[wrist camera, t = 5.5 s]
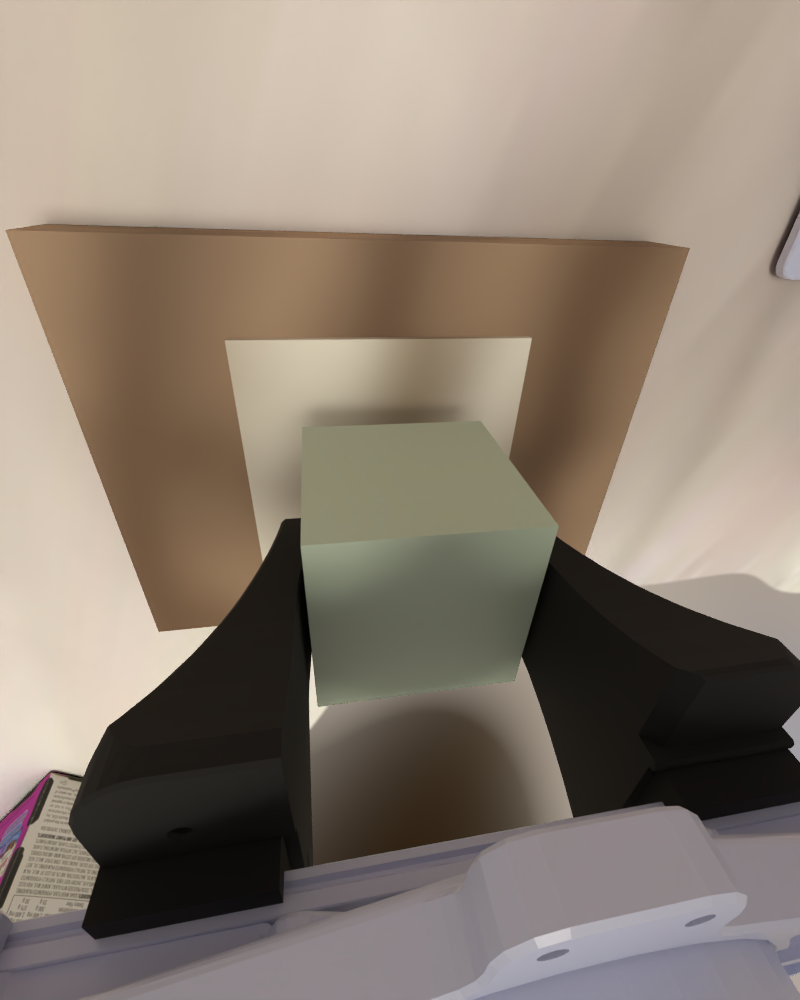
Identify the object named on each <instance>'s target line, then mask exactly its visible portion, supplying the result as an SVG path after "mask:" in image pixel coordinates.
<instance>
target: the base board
mask: <svg viewBox="0 0 800 1000" xmlns="http://www.w3.org/2000/svg"><path fill="white" fill-rule="evenodd" d="M6 233H7V235H8V238H9V240H10V243H11V246H12V248H13V251H14V254H15V256H16V259H17V261H18V264H19V267H20V269H21V272H22V275H23V277H24V280H25V282H26V285H27V288H28V290H29V293H30V295H31V298H32V301H33V303H34V306H35V309H36V311H37V314H38V316H39V319H40V322H41V324H42V327H43V330H44V332H45V335H46V337H47V340H48V343H49V345H50V348H51V350H52V353H53V356H54V358H55V361H56V364H57V366H58V369H59V371H60V374H61V377H62V379H63V382H64V385H65V387H66V390H67V392H68V395H69V398H70V400H71V403H72V406H73V408H74V411H75V413H76V416H77V419H78V421H79V424H80V426H81V429H82V432H83V434H84V437H85V440H86V442H87V445H88V447H89V450H90V453H91V455H92V458H93V461H94V463H95V466H96V468H97V471H98V474H99V476H100V479H101V482H102V484H103V487H104V489H105V492H106V495H107V497H108V500H109V502H110V505H111V508H112V510H113V513H114V516H115V518H116V521H117V523H118V526H119V529H120V531H121V534H122V537H123V539H124V542H125V544H126V547H127V550H128V552H129V555H130V557H131V560H132V563H133V565H134V568H135V571H136V573H137V576H138V578H139V581H140V584H141V586H142V589H143V592H144V594H145V597H146V599H147V602H148V605H149V607H150V610H151V613H152V615H153V618H154V620H155V623H156V626H157V628H158V631H159V632H161V631H171V630H181V629H191V628H201V627H211V626H218V625H219V624H220V623H221V622H222V621H223V619H224V618H225V617H226V616H227V614H228V613H229V612H230V611H231V609H232V608H233V607H234V605H235V604H236V603H237V601H238V600H239V599H240V597H241V596H242V594H243V593H244V591H245V590H246V588H247V587H248V585H249V584H250V582H251V581H252V579H253V578H254V576H255V574H256V573H257V571H258V570H259V568H260V566H261V564H262V562H263V561H264V559H265V557H266V555H267V554H268V552H269V550H270V548H271V546H272V544H273V542H274V540H275V537H276V535H277V533H278V530H279V528H280V525H281V523H282V522H283V521H284V520H285V519H292V518H301V480H302V427H328V426H355V425H381V424H408V423H435V422H462V421H481V422H482V423H483V425H484V426H485V427H486V429H487V430H488V431H489V433H490V434H491V435H492V437H493V438H494V439H495V441H496V442H497V443H498V445H499V446H500V447H501V449H502V450H503V451H504V453H505V454H506V456H507V457H508V458H509V460H510V461H511V462H512V464H513V465H514V466H515V468H516V469H517V470H518V472H519V473H520V474H521V476H522V477H523V478H524V480H525V481H526V482H527V484H528V485H529V486H530V488H531V489H532V490H533V492H534V493H535V495H536V496H537V497H538V499H539V500H540V501H541V503H542V504H543V505H544V507H545V508H546V509H547V511H548V512H549V513H550V515H551V516H552V517H553V519H554V520H555V521H556V523H557V524H558V525H559V528H558V531H557V535H556V536H557V537H558V538H560V539H561V540H562V541H564V542H565V543H567V544H568V545H570V546H571V547H572V548H574V549H575V550H577V551H578V552H580V553H581V554H583V555H585V553H586V550H587V547H588V544H589V541H590V539H591V536H592V533H593V530H594V527H595V524H596V521H597V518H598V515H599V512H600V509H601V506H602V503H603V500H604V498H605V495H606V492H607V489H608V486H609V483H610V480H611V477H612V474H613V471H614V468H615V465H616V462H617V460H618V457H619V454H620V451H621V448H622V445H623V442H624V439H625V436H626V433H627V430H628V427H629V424H630V421H631V419H632V416H633V413H634V410H635V407H636V404H637V401H638V398H639V395H640V392H641V389H642V386H643V383H644V381H645V378H646V375H647V372H648V369H649V366H650V363H651V360H652V357H653V354H654V351H655V348H656V345H657V342H658V340H659V337H660V334H661V331H662V328H663V325H664V322H665V319H666V316H667V313H668V310H669V307H670V304H671V302H672V299H673V296H674V293H675V290H676V287H677V284H678V281H679V278H680V275H681V272H682V269H683V266H684V263H685V261H686V258H687V255H688V252H689V249H690V248H685V247H679V246H672V245H666V244H660V243H654V242H645V241H610V240H576V239H541V238H506V237H471V236H436V235H402V234H367V233H332V232H297V231H262V230H228V229H193V228H158V227H123V226H88V225H54V224H44V225H37V226H30V227H23V228H16V229H10V230H6Z"/></svg>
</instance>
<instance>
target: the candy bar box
mask: <svg viewBox="0 0 800 1000" xmlns="http://www.w3.org/2000/svg"><path fill="white" fill-rule="evenodd" d="M82 780H83V778H77V777H73V776H68V775H63V774H58V773H50V774H48V775H47V776H46V777H45V778H44V779H43V780H42V781H41V782H40V783H39V784H38V785H37V786H36V787H35V788H34V789H33V790H32V791H31V792H30V793H29V794H28V795H27V796H26V797H25V798H24V799H23V800H22V801H21V802H20V803H19V804H18V805H17V806H16V807H15V808H14V809H13V810H12V811H11V812H10V813H9V814H8V815H7V816H6V817H5V818H4V819H3V820H2V821H1V822H0V910H2V911H3V912H5V913H6V914H7V916H8V917H9V918H10V920H11V921H12V922H15V921H20V920H25V919H31V918H36V917H41V916H47V915H52V914H58V913H63V912H68V911H74V910H79V909H85V908H87V907H88V904H89V900H90V897H91V894H92V890H93V887H94V884H95V881H96V877H97V874H98V871H99V867H100V866H99V865H98V863H97V862H96V861H95V860H94V859H93V857H92V856H91V855H90V854H89V853H88V852H87V850H86V849H85V848H84V847H83V846H82V844H81V843H80V842H79V841H78V840H77V839H76V837H75V836H74V834H73V832H72V830H71V828H70V826H69V824H68V822H69V817H70V812H71V809H72V807H73V804H74V801H75V799H76V796H77V793H78V791H79V788H80V785H81V783H82Z"/></svg>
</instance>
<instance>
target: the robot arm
mask: <svg viewBox="0 0 800 1000" xmlns="http://www.w3.org/2000/svg"><path fill="white" fill-rule="evenodd" d="M776 274H777V276H778V277H780V278H783V279H788V280H800V212H799V214H798V217H797V219H796V221H795V224H794V226H793V228H792V230H791V233H790V235H789V237H788V239H787V242H786V244H785V246H784V248H783V251H782V253H781V255H780V257H779V260H778V262H777V265H776ZM300 544H301V518H292V519H285V520H284V521H283V522H282V523H281V525H280V528H279V530H278V533H277V535H276V537H275V540H274V542H273V544H272V546H271V548H270V550H269V552H268V554H267V555H266V557H265V559H264V561H263V562H262V564H261V566H260V568H259V570H258V571H257V573H256V574H255V576H254V578H253V579H252V581H251V582H250V584H249V585H248V587H247V588H246V590H245V591H244V593H243V594H242V596H241V597H240V599H239V600H238V601H237V603H236V604H235V605H234V607H233V608H232V609H231V611H230V612H229V613H228V614H227V616H226V617H225V618H224V619H223V621H222V622H221V623H220V624H219V625H218V627H217V628H216V629H215V630H214V631H213V632H212V633H211V634H210V636H209V637H208V638H207V639H206V640H205V641H204V642H203V643H202V645H201V646H200V647H199V648H198V649H197V650H196V651H195V652H194V653H193V654H192V655H191V656H190V657H189V658H188V659H187V660H186V661H185V662H184V663H183V664H182V665H181V666H179V667H178V668H177V669H176V670H175V671H174V672H173V673H172V674H171V675H170V676H169V677H168V678H167V679H166V680H165V681H163V682H162V683H161V684H160V685H159V686H158V687H157V688H156V689H155V690H153V691H152V692H151V693H150V694H149V695H147V696H146V697H145V698H144V699H142V700H141V701H140V702H139V703H137V704H136V705H135V706H134V707H132V708H131V709H130V710H129V711H127V712H126V713H125V714H124V715H122V716H121V717H120V718H119V719H117V720H116V721H115V722H113V723H112V724H111V725H109V726H108V727H107V729H106V731H105V733H104V735H103V737H102V739H101V741H100V743H99V745H98V747H97V749H96V750H95V752H94V754H93V756H92V758H91V760H90V762H89V765H88V767H87V769H86V772H85V775H84V777H83V780H82V783H81V785H80V788H79V791H78V793H77V796H76V799H75V801H74V804H73V807H72V809H71V812H70V817H69V822H68V824H69V826H70V828H71V830H72V832H73V834H74V836H75V837H76V839H77V840H78V841H79V842H80V843H81V844H82V846H83V847H84V848H85V849H86V850H87V852H88V853H89V854H90V855H91V856H92V857H93V859H94V860H95V861H96V862H97V863H98V865H99V866H100V867H99V871H98V874H97V877H96V881H95V884H94V887H93V890H92V894H91V897H90V900H89V904H88V907H87V908H85V909H79V910H74V911H68V912H63V913H58V914H52V915H47V916H41V917H36V918H31V919H25V920H20V921H15V922H12V921H11V920H10V918H9V917H8V916H7V914H6V913H5V912H3V911H2V910H0V1000H800V994H799V992H798V991H797V989H796V987H795V986H794V984H793V982H792V980H791V979H790V976H794V975H797V974H800V762H799V761H798V760H797V759H796V758H795V756H794V755H793V754H792V753H791V752H790V751H789V750H788V748H791V747H793V745H794V741H793V739H792V738H791V737H790V736H789V735H788V733H787V732H786V731H785V730H784V729H783V728H782V726H783V725H784V723H785V722H786V721H787V720H788V719H789V718H790V716H792V715H793V713H794V712H795V711H796V710H797V709H798V708H799V707H800V660H799V659H797V657H796V656H794V655H793V654H792V653H791V652H790V651H789V650H788V649H787V648H786V647H785V646H784V645H783V644H782V643H781V642H780V641H779V640H778V639H775V638H772V637H769V636H766V635H763V634H760V633H756V632H753V631H750V630H747V629H744V628H741V627H737V626H734V625H731V624H728V623H725V622H722V621H719V620H717V619H714V618H711V617H709V616H706V615H703V614H701V613H698V612H695V611H693V610H690V609H687V608H685V607H683V606H680V605H678V604H676V603H673V602H671V601H669V600H667V599H664V598H662V597H660V596H658V595H655V594H653V593H651V592H649V591H647V590H645V589H643V588H641V587H639V586H637V585H635V584H633V583H631V582H629V581H627V580H625V579H624V578H622V577H620V576H618V575H616V574H614V573H613V572H611V571H609V570H607V569H606V568H604V567H602V566H601V565H599V564H597V563H596V562H594V561H593V560H591V559H589V558H588V557H586V556H585V555H583V554H581V553H580V552H578V551H577V550H575V549H574V548H572V547H571V546H570V545H568V544H567V543H565V542H564V541H562V540H561V539H560V538H558V537H557V536H556V538H555V542H554V545H553V549H552V552H551V556H550V559H549V563H548V566H547V569H546V573H545V576H544V580H543V583H542V587H541V590H540V594H539V597H538V601H537V604H536V608H535V611H534V615H533V618H532V622H531V625H530V629H529V632H528V636H527V639H526V643H525V646H524V650H523V653H522V658H523V660H524V663H525V665H526V667H527V670H528V672H529V675H530V678H531V681H532V684H533V686H534V689H535V692H536V695H537V698H538V701H539V703H540V707H541V710H542V713H543V715H544V718H545V722H546V725H547V728H548V731H549V734H550V737H551V740H552V744H553V747H554V750H555V754H556V757H557V760H558V764H559V767H560V770H561V774H562V777H563V781H564V785H565V788H566V792H567V796H568V799H569V803H570V807H571V810H572V814H573V818H570V819H565V820H559V821H554V822H549V823H543V824H538V825H532V826H527V827H522V828H516V829H511V830H505V831H500V832H494V833H489V834H484V835H479V836H473V837H468V838H462V839H457V840H451V841H447V842H441V843H435V844H430V845H424V846H419V847H414V848H408V849H403V850H397V851H392V852H387V853H381V854H376V855H370V856H365V857H360V858H354V859H349V860H343V861H338V862H333V863H327V864H322V865H317V866H313V844H312V812H311V776H310V733H309V680H310V667H311V654H312V648H311V639H310V629H309V620H308V611H307V602H306V592H305V583H304V574H303V565H302V555H301V546H300Z"/></svg>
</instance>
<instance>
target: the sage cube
mask: <svg viewBox="0 0 800 1000" xmlns="http://www.w3.org/2000/svg"><path fill="white" fill-rule="evenodd" d="M558 528H559V525H558V524H557V523H556V521H555V520H554V519H553V517H552V516H551V515H550V513H549V512H548V511H547V509H546V508H545V507H544V505H543V504H542V503H541V501H540V500H539V499H538V497H537V496H536V495H535V493H534V492H533V490H532V489H531V488H530V486H529V485H528V484H527V482H526V481H525V480H524V478H523V477H522V476H521V474H520V473H519V472H518V470H517V469H516V468H515V466H514V465H513V464H512V462H511V461H510V460H509V458H508V457H507V456H506V454H505V453H504V451H503V450H502V449H501V447H500V446H499V445H498V443H497V442H496V441H495V439H494V438H493V437H492V435H491V434H490V433H489V431H488V430H487V429H486V427H485V426H484V425H483V423H482V422H481V421H462V422H435V423H408V424H381V425H355V426H328V427H302V480H301V544H300V546H301V555H302V565H303V574H304V583H305V592H306V602H307V611H308V620H309V629H310V639H311V648H312V657H313V666H314V676H315V685H316V694H317V703H318V707H320V706H328V705H335V704H343V703H350V702H357V701H366V700H373V699H381V698H388V697H396V696H403V695H411V694H418V693H426V692H434V691H441V690H449V689H456V688H464V687H472V686H479V685H486V684H494V683H502V682H509V681H515V678H516V674H517V670H518V667H519V664H520V660H521V657H522V653H523V650H524V646H525V643H526V639H527V636H528V632H529V629H530V625H531V622H532V618H533V615H534V611H535V608H536V604H537V601H538V597H539V594H540V590H541V587H542V583H543V580H544V576H545V573H546V569H547V566H548V563H549V559H550V556H551V552H552V549H553V545H554V542H555V538H556V535H557V531H558Z"/></svg>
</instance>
